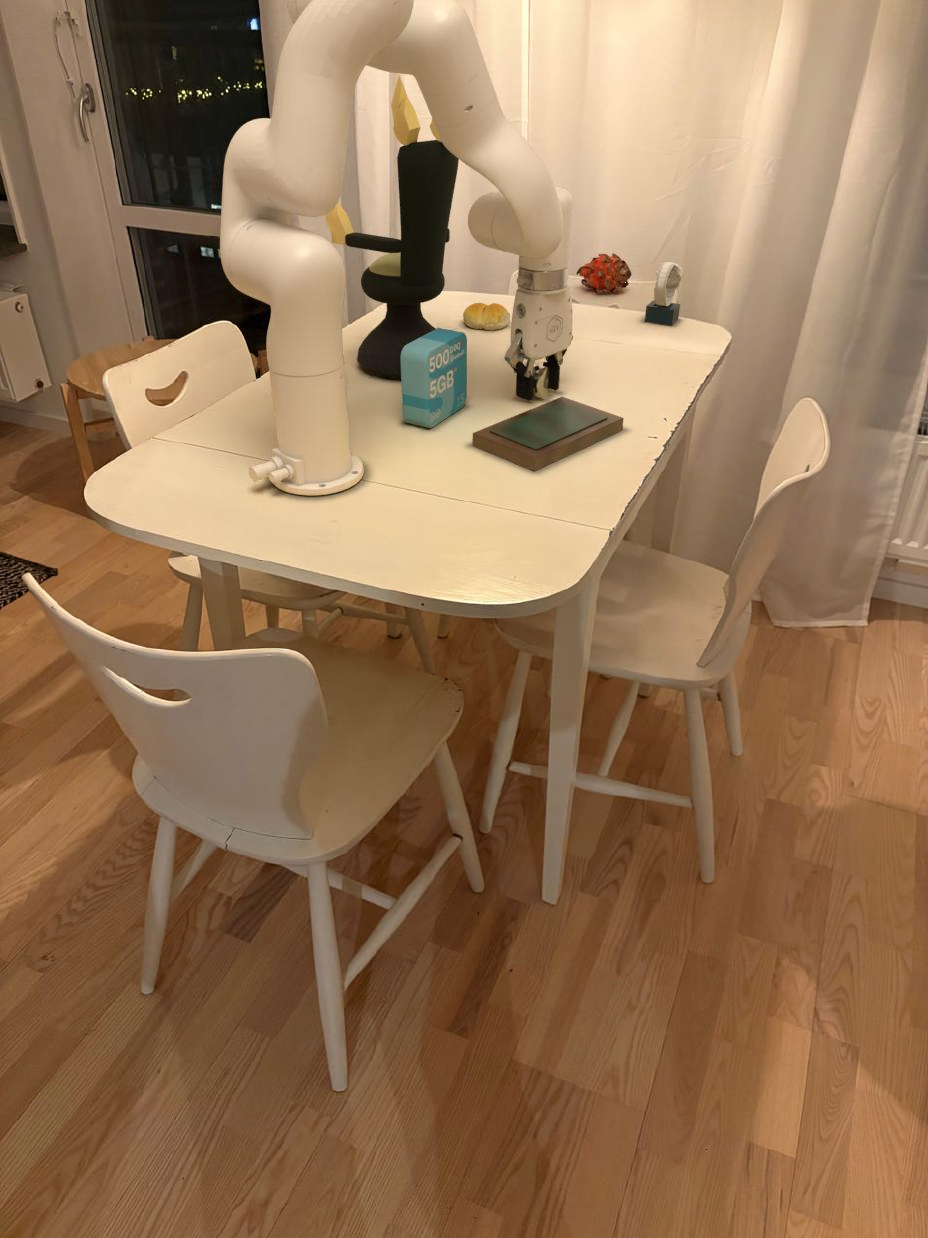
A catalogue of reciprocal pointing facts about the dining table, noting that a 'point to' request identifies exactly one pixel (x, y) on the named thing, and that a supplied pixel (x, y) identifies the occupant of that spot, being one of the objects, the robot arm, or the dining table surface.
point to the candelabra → (405, 242)
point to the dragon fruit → (605, 273)
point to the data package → (434, 377)
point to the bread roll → (486, 316)
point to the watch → (665, 295)
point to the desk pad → (547, 433)
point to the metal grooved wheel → (541, 381)
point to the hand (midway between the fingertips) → (537, 391)
